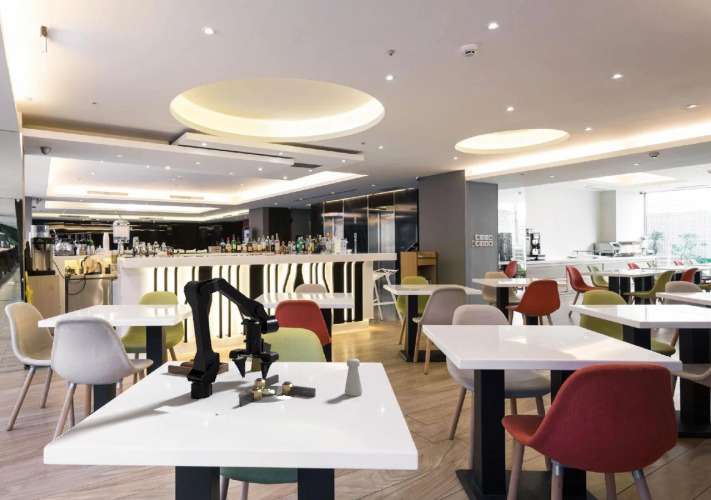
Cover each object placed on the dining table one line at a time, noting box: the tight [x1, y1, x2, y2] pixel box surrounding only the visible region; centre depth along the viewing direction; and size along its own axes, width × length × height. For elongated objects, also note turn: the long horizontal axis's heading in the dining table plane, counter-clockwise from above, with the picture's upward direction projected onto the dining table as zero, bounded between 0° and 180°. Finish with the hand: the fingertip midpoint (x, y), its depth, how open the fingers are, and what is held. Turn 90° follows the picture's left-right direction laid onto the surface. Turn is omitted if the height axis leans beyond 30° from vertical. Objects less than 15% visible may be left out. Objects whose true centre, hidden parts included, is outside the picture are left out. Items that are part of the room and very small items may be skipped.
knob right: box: [281, 380, 317, 398], centre depth 152 cm, size 12×4×4 cm, turn 65°
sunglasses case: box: [179, 360, 194, 368], centre depth 191 cm, size 18×7×7 cm, turn 66°
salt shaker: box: [344, 357, 363, 397], centre depth 152 cm, size 6×6×13 cm
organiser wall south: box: [217, 363, 230, 376], centre depth 186 cm, size 11×1×3 cm, turn 155°
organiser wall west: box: [167, 364, 192, 376], centre depth 185 cm, size 1×20×3 cm, turn 65°
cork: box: [250, 352, 265, 372], centre depth 186 cm, size 6×6×11 cm
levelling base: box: [238, 385, 296, 407], centre depth 151 cm, size 24×19×5 cm
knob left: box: [254, 374, 280, 390], centre depth 162 cm, size 12×4×4 cm, turn 155°
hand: (253, 378), depth 168 cm, fingers open, 9 cm apart
